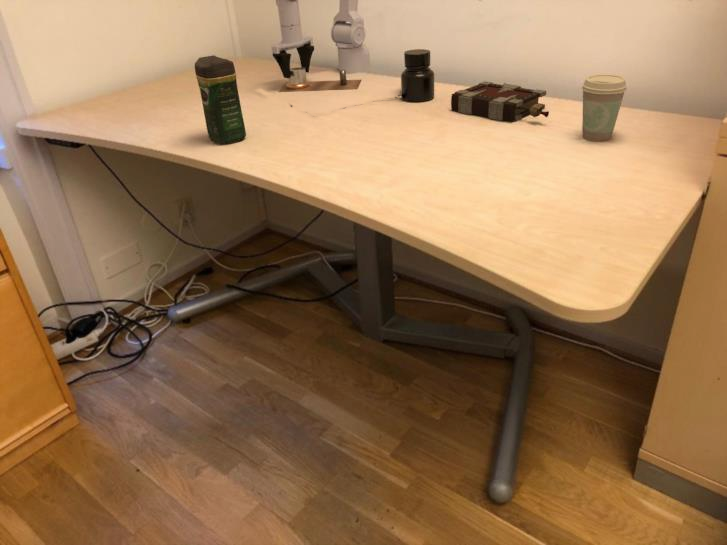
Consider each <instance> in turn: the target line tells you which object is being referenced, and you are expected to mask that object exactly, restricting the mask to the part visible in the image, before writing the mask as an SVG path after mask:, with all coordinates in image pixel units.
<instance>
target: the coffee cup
mask: <svg viewBox="0 0 727 545" xmlns="http://www.w3.org/2000/svg"><path fill="white" fill-rule="evenodd" d="M627 87H628V86H627V82H626V78H625V77H623V76H621V75H615V74H594V75H589V76H587V77H586V78H585V80H584V83H583V84H582V87H581V90H582V122H581V124H582V126H581V127H582V131H581V132H582V134H581V136H582V138H583V139H585V140H588V141H593V142H604V141H605V142H606V141H609V140H611V139H612V136H613V133H614V131H615V126H616V122H617V120H618V117H619V113H620V112H619V111H620V109H621V105H622V102H623V98H624V95H625V92H626V91H628V88H627Z"/></svg>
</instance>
